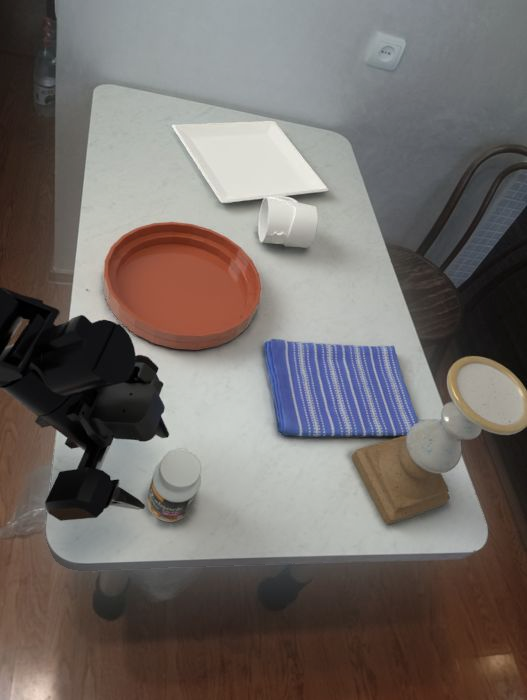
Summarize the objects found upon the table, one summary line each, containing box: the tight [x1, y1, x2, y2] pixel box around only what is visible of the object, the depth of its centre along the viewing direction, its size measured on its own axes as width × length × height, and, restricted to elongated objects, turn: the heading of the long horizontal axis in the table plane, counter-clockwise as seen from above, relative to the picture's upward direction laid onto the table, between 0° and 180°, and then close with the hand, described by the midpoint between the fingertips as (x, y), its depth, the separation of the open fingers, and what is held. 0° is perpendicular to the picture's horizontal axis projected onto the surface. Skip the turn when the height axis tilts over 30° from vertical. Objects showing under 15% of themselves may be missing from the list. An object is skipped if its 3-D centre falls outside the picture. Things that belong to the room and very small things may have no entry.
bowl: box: [103, 221, 263, 351], centre depth 89 cm, size 25×25×4 cm
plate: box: [171, 120, 330, 204], centre depth 116 cm, size 26×26×2 cm
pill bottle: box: [147, 448, 202, 523], centre depth 64 cm, size 6×6×10 cm
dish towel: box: [263, 337, 419, 438], centre depth 85 cm, size 17×24×3 cm
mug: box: [257, 196, 319, 249], centre depth 102 cm, size 12×9×8 cm
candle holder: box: [351, 355, 527, 525], centre depth 69 cm, size 11×11×24 cm
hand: (154, 470), depth 62 cm, fingers open, 9 cm apart
